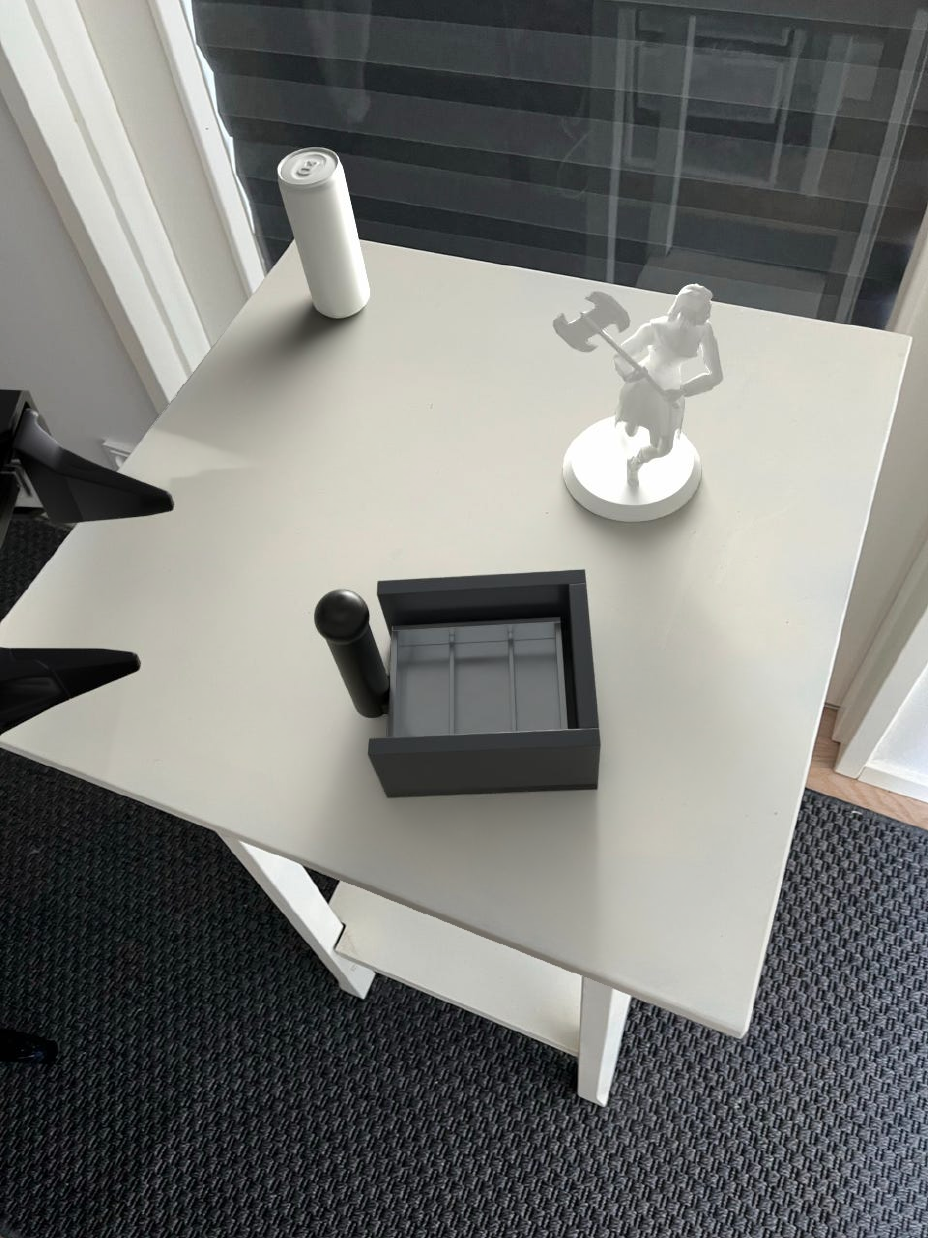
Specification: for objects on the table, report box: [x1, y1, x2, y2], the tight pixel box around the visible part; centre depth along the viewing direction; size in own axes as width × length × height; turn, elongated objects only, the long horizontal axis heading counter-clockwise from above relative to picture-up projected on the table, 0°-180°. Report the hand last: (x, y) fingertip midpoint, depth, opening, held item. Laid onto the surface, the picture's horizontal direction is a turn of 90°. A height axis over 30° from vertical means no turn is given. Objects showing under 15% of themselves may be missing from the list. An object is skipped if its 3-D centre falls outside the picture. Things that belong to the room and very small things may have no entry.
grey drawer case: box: [367, 568, 602, 799], centre depth 53 cm, size 12×11×6 cm
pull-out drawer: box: [313, 588, 568, 738], centre depth 50 cm, size 13×8×11 cm, turn 90°
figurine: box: [552, 282, 724, 523], centre depth 57 cm, size 10×10×18 cm
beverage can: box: [276, 146, 371, 319], centre depth 72 cm, size 5×5×12 cm
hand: (156, 577), depth 44 cm, fingers open, 9 cm apart
